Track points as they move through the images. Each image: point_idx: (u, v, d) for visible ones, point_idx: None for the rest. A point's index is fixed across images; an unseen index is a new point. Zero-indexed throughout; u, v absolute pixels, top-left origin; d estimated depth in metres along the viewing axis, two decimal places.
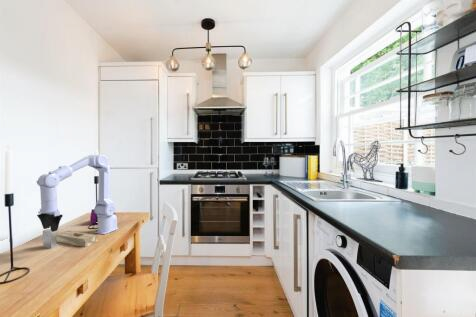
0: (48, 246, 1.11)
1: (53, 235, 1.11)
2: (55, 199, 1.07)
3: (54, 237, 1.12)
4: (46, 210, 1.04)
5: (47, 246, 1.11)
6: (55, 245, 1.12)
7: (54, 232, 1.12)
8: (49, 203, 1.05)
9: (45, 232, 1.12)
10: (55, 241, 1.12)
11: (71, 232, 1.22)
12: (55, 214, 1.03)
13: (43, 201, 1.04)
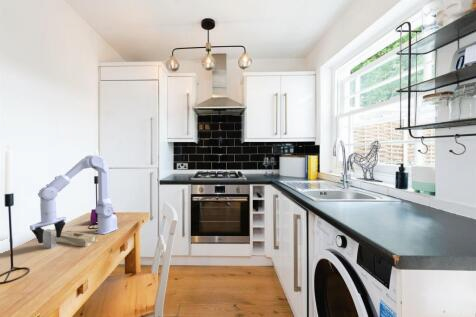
0: (48, 246, 1.11)
1: (53, 235, 1.11)
2: (53, 211, 1.12)
3: (54, 237, 1.12)
4: None
5: (47, 246, 1.11)
6: (55, 245, 1.12)
7: (54, 232, 1.12)
8: (41, 215, 1.10)
9: (45, 232, 1.12)
10: (55, 241, 1.12)
11: (71, 232, 1.22)
12: (30, 228, 1.06)
13: None
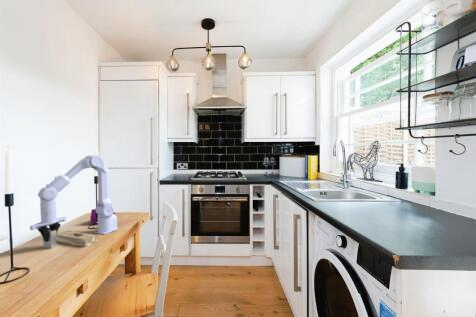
0: (48, 246, 1.11)
1: (53, 235, 1.11)
2: (53, 211, 1.12)
3: (54, 237, 1.12)
4: None
5: (47, 246, 1.11)
6: (55, 245, 1.12)
7: (54, 232, 1.12)
8: (41, 215, 1.10)
9: None
10: (55, 241, 1.12)
11: (71, 232, 1.22)
12: (30, 228, 1.06)
13: None
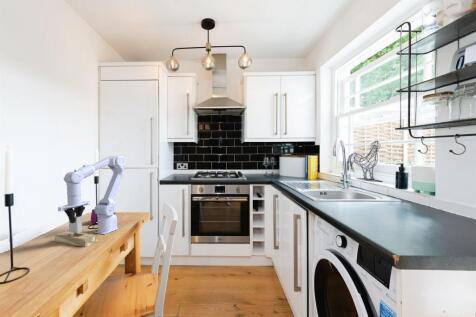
0: (74, 231, 1.17)
1: (79, 221, 1.17)
2: (79, 194, 1.18)
3: (80, 223, 1.17)
4: None
5: (73, 231, 1.17)
6: (81, 230, 1.18)
7: (80, 218, 1.17)
8: (67, 198, 1.16)
9: None
10: (80, 227, 1.18)
11: None
12: (58, 209, 1.11)
13: None
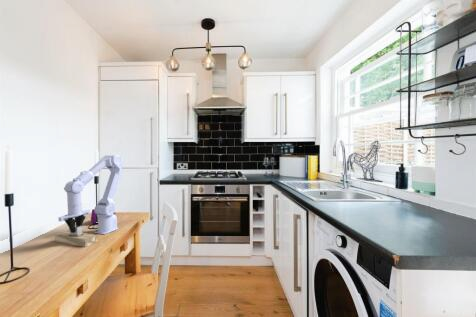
0: None
1: (79, 230, 1.17)
2: (80, 204, 1.18)
3: (80, 232, 1.18)
4: (68, 213, 1.17)
5: None
6: None
7: (80, 228, 1.18)
8: (68, 208, 1.16)
9: None
10: None
11: None
12: None
13: None
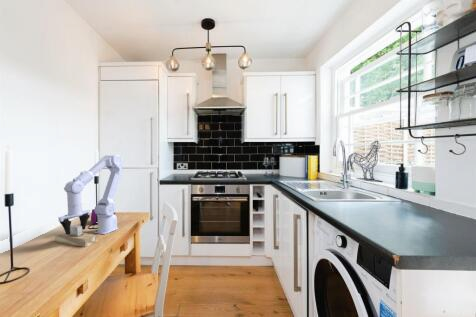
0: None
1: (79, 230, 1.17)
2: (80, 204, 1.18)
3: (80, 232, 1.18)
4: (68, 213, 1.17)
5: None
6: None
7: (80, 228, 1.18)
8: (68, 208, 1.16)
9: (72, 228, 1.17)
10: None
11: None
12: (59, 219, 1.12)
13: None
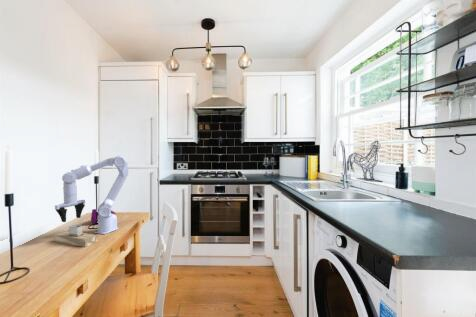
0: None
1: (79, 230, 1.17)
2: (72, 194, 1.23)
3: (80, 232, 1.18)
4: None
5: None
6: None
7: (80, 228, 1.18)
8: (64, 197, 1.23)
9: (72, 228, 1.17)
10: None
11: None
12: (55, 207, 1.18)
13: None
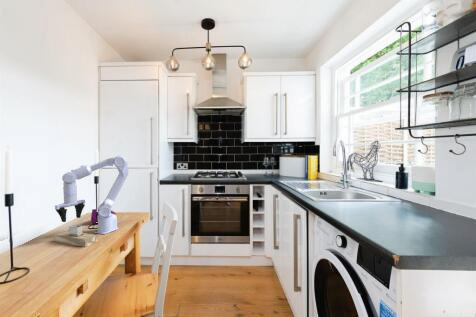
0: None
1: (79, 230, 1.17)
2: (72, 194, 1.23)
3: (80, 232, 1.18)
4: None
5: None
6: None
7: (80, 228, 1.18)
8: (64, 197, 1.23)
9: (72, 228, 1.17)
10: None
11: None
12: (55, 207, 1.18)
13: None
